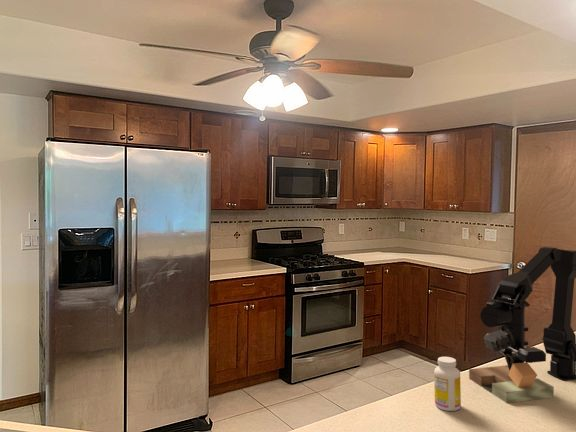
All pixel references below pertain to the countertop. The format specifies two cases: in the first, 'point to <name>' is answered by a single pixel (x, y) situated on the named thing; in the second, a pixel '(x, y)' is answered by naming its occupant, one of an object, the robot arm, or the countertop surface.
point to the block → (522, 374)
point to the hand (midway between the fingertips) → (513, 375)
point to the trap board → (509, 385)
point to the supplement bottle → (447, 385)
